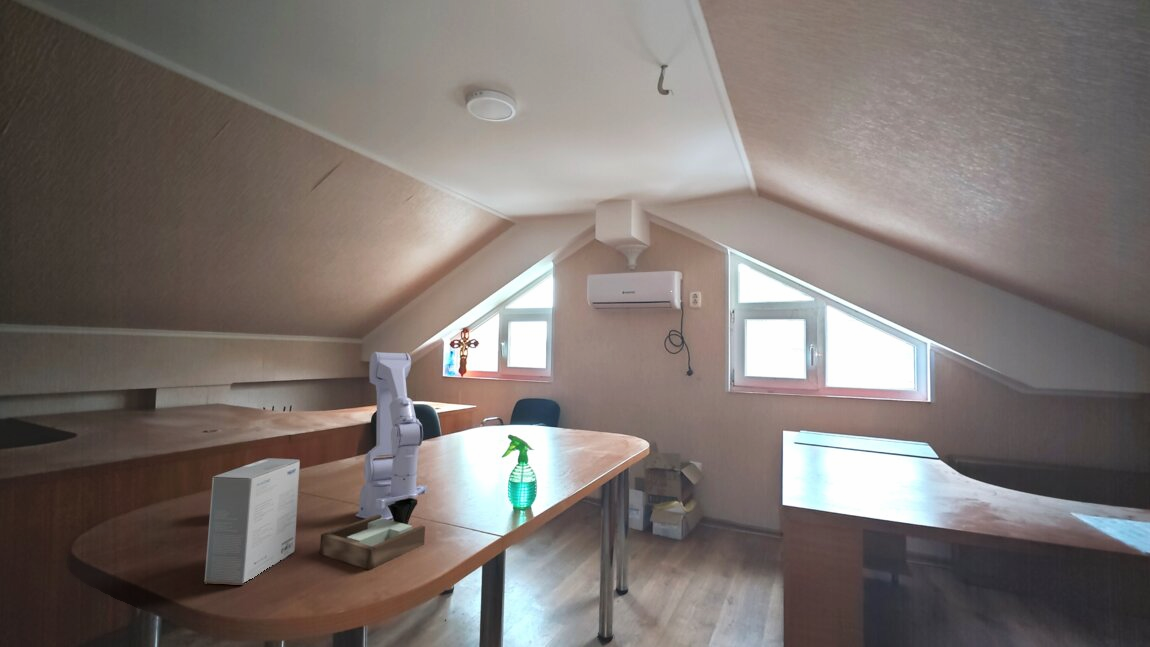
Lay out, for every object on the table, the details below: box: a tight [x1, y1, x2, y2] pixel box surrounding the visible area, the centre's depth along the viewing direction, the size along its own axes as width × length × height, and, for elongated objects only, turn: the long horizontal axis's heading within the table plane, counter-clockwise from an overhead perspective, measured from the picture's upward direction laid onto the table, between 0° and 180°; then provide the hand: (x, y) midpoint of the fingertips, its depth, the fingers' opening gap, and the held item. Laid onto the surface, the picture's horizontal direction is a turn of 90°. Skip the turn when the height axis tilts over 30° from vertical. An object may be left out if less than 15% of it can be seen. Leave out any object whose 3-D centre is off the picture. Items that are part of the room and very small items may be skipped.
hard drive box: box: [204, 457, 301, 583], centre depth 93 cm, size 16×8×20 cm, turn 178°
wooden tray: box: [319, 515, 426, 571], centre depth 104 cm, size 15×15×4 cm
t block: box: [347, 518, 413, 546], centre depth 104 cm, size 10×12×4 cm
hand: (400, 531), depth 111 cm, fingers closed
